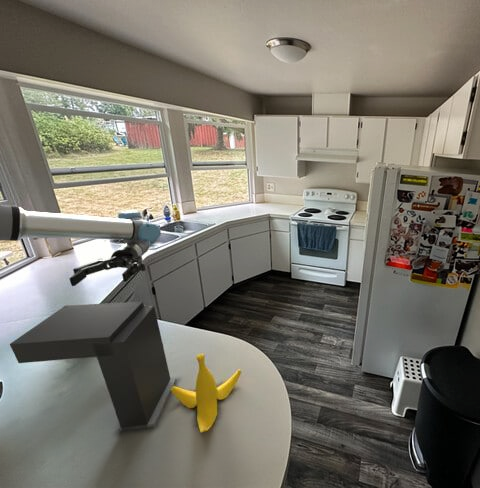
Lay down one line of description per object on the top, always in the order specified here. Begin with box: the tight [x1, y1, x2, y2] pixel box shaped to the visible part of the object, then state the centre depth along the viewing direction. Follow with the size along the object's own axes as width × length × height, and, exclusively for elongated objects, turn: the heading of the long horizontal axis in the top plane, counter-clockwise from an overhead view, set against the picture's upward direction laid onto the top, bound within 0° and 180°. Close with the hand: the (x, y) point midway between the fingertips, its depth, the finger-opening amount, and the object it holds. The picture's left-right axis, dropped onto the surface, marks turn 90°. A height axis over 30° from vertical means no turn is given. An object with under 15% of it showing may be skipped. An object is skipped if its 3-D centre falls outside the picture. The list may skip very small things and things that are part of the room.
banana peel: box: [171, 353, 242, 433], centre depth 65 cm, size 17×19×17 cm
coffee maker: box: [9, 301, 177, 432], centre depth 64 cm, size 22×14×28 cm, turn 99°
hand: (98, 280), depth 79 cm, fingers open, 13 cm apart
